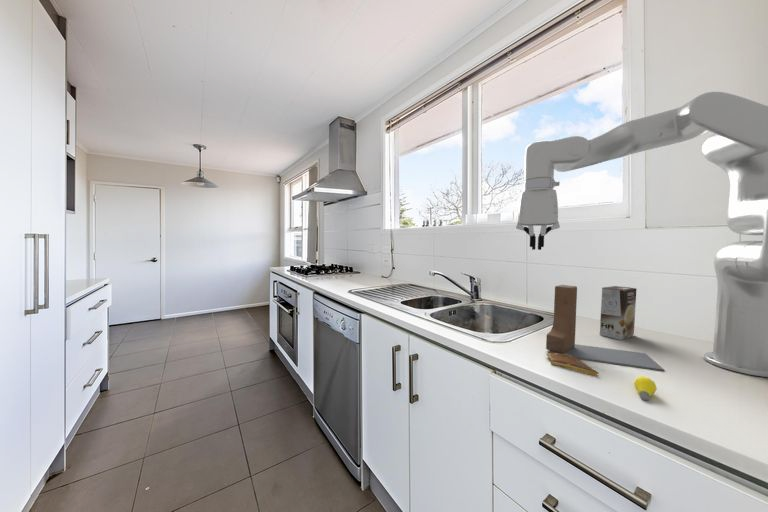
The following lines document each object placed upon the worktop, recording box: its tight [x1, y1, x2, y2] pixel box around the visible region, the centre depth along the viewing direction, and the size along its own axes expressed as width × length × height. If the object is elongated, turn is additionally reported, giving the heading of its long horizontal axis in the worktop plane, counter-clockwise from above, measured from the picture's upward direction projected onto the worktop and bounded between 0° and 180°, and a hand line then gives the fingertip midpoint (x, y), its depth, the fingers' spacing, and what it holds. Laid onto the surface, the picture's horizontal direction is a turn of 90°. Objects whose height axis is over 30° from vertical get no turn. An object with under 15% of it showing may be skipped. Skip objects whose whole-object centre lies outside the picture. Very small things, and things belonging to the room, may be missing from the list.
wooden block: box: [545, 284, 578, 354], centre depth 83 cm, size 9×4×18 cm, turn 128°
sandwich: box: [545, 352, 600, 377], centre depth 72 cm, size 11×8×2 cm
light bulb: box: [633, 376, 658, 401], centre depth 59 cm, size 3×6×4 cm, turn 137°
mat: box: [548, 343, 665, 372], centre depth 80 cm, size 24×11×1 cm, turn 66°
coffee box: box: [599, 285, 637, 341], centre depth 95 cm, size 9×6×16 cm
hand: (536, 249), depth 84 cm, fingers closed
